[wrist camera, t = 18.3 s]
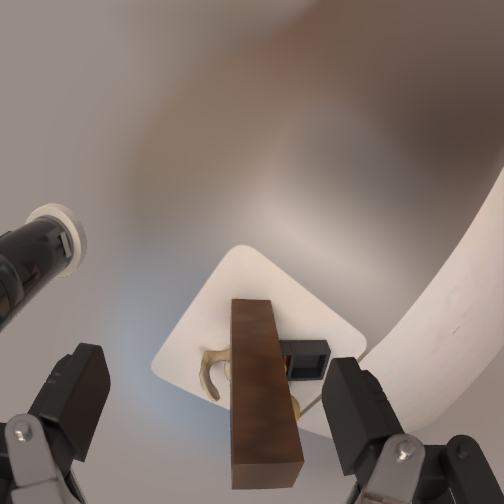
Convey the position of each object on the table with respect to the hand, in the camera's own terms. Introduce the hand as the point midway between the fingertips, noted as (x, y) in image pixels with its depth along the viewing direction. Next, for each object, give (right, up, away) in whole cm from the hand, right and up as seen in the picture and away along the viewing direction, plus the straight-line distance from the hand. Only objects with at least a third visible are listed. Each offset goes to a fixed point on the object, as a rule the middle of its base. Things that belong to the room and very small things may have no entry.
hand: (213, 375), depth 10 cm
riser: (+1, -5, +34) cm, 35 cm away
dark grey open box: (+7, -13, +38) cm, 40 cm away
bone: (-2, -12, +37) cm, 39 cm away
